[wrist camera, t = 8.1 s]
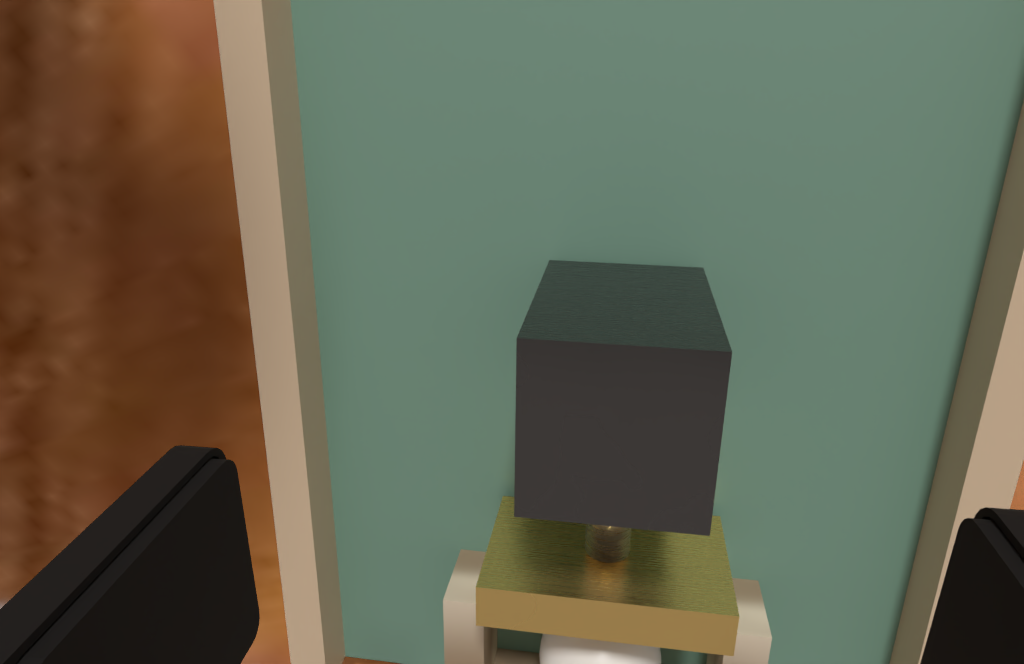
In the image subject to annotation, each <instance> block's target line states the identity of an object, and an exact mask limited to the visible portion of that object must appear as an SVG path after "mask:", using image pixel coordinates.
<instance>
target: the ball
mask: <svg viewBox="0 0 1024 664" xmlns="http://www.w3.org/2000/svg"><path fill="white" fill-rule="evenodd" d="M539 657H540V664H661V651H660V648H659V647H651V646H643V645H634V644H626V643H618V642H609V641H601V640H592V639H584V638H576V637H567V636H559V635H551V634H543V635H542V639H541V643H540V653H539Z"/></svg>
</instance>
